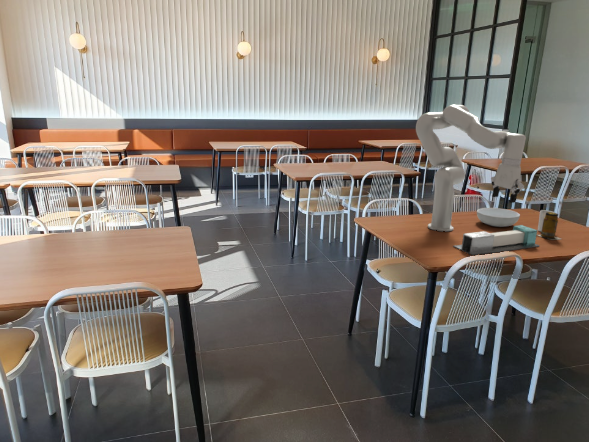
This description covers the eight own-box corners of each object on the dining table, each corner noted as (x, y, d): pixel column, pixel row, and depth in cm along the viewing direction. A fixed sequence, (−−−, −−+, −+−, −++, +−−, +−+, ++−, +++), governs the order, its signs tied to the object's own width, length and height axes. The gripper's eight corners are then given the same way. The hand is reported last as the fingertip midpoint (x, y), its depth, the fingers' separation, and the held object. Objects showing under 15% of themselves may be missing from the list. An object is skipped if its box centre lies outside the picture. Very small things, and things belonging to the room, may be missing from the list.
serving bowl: (480, 217, 247) (482, 205, 246) (521, 224, 236) (523, 211, 234) (470, 225, 231) (472, 212, 229) (513, 232, 219) (516, 219, 218)
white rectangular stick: (487, 247, 193) (488, 236, 191) (480, 244, 196) (481, 234, 195) (527, 242, 201) (528, 231, 200) (519, 239, 205) (521, 229, 203)
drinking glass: (550, 233, 220) (554, 214, 217) (535, 230, 223) (539, 212, 221) (552, 230, 225) (555, 211, 222) (537, 228, 229) (541, 209, 226)
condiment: (546, 234, 218) (551, 211, 215) (562, 239, 211) (566, 215, 208) (536, 235, 216) (540, 212, 213) (551, 240, 208) (555, 216, 205)
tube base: (472, 255, 185) (474, 239, 183) (453, 246, 196) (455, 231, 194) (539, 246, 199) (542, 231, 197) (517, 238, 210) (520, 223, 208)
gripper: (489, 158, 198) (482, 195, 203) (521, 166, 183) (513, 205, 188) (501, 158, 201) (494, 194, 206) (534, 165, 186) (525, 204, 191)
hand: (503, 199), depth 197 cm, fingers open, 9 cm apart
